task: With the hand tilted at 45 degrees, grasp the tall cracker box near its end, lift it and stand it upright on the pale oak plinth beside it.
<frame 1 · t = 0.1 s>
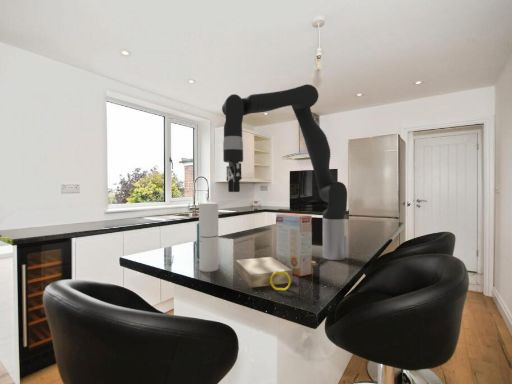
hand: (233, 192, 103), 29 cm above the countertop, tool pointing down, fingers open, 8 cm apart
oak plinth: (262, 276, 93), on the countertop
cylindrical container: (209, 269, 102), on the countertop
beverage bottle: (204, 261, 113), on the countertop
yellow ring: (280, 290, 81), on the countertop
cracker box: (293, 271, 99), on the countertop
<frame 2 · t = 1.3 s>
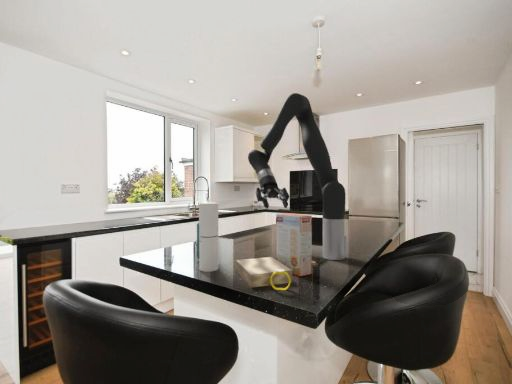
hand: (277, 207, 113), 23 cm above the countertop, tool tilted 45°, fingers open, 8 cm apart
nothing on the countertop moved.
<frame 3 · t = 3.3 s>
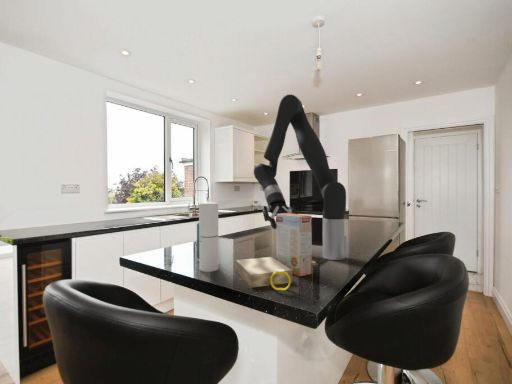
hand: (285, 227, 105), 15 cm above the countertop, tool tilted 45°, fingers open, 8 cm apart
cracker box: (293, 271, 99), on the countertop, touching gripper
everything else where it was.
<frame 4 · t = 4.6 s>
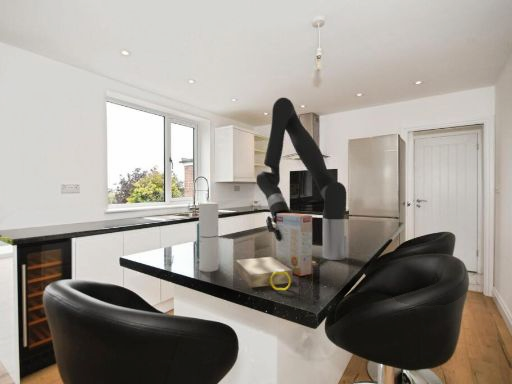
hand: (290, 239, 101), 11 cm above the countertop, tool tilted 45°, fingers open, 8 cm apart
nothing on the countertop moved.
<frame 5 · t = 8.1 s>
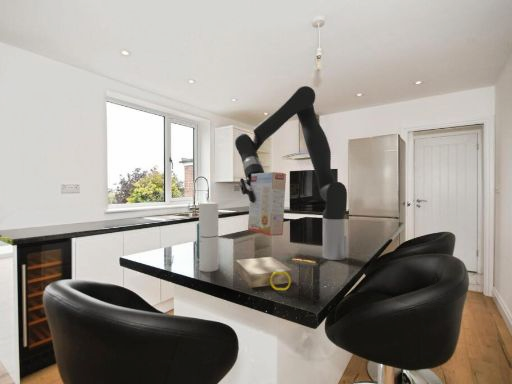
hand: (263, 201, 96), 26 cm above the countertop, tool tilted 45°, fingers closed on cracker box, 6 cm apart
cracker box: (264, 233, 94), point 15 cm above the countertop, touching gripper
everything else where it was.
when the fingers open (16 cm above the countertop, at t = 11.0 s): cracker box drops 1 cm, resting on oak plinth.
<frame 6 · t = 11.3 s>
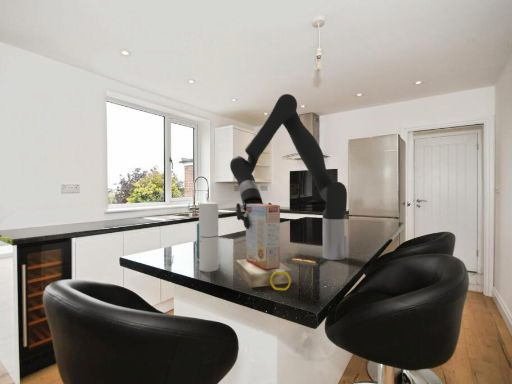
hand: (260, 227, 95), 17 cm above the countertop, tool tilted 45°, fingers open, 8 cm apart
cracker box: (262, 264, 94), point 4 cm above the countertop, touching oak plinth
everything else where it was.
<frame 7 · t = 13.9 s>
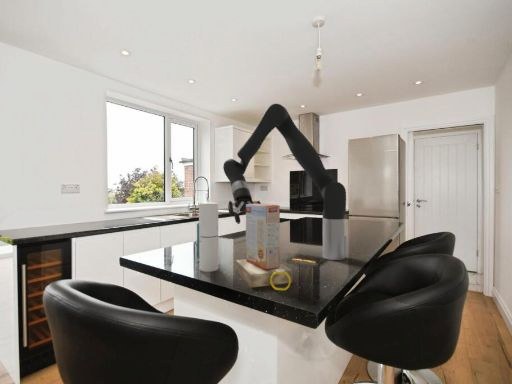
hand: (249, 222, 107), 17 cm above the countertop, tool tilted 45°, fingers open, 8 cm apart
nothing on the countertop moved.
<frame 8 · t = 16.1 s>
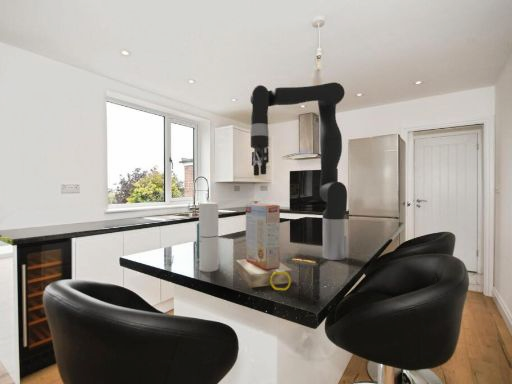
hand: (259, 174, 113), 36 cm above the countertop, tool pointing down, fingers open, 8 cm apart
nothing on the countertop moved.
at the end: cracker box inside the target area on the oak plinth (0.5 cm from its centre), point 3.8 cm above the oak plinth's base; cracker box tilted 0°; the gripper is holding nothing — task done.
